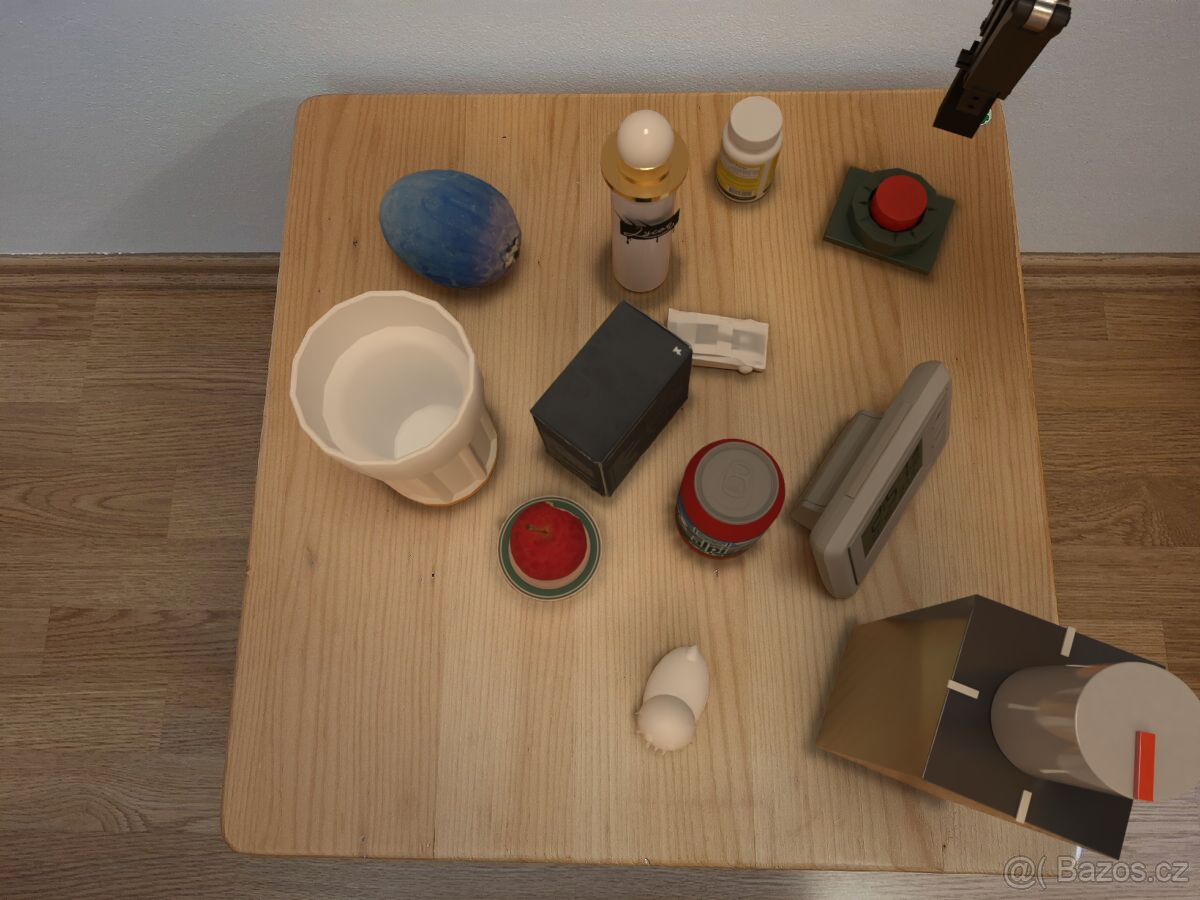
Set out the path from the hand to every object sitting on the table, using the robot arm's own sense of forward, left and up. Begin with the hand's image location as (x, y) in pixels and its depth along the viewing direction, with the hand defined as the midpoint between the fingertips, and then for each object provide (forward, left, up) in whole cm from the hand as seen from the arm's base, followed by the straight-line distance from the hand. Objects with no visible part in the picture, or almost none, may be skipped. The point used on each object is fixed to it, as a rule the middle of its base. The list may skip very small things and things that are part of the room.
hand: (955, 123), depth 59 cm
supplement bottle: (+13, 0, -15) cm, 20 cm away
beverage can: (+5, +28, -15) cm, 32 cm away
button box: (+1, -1, -15) cm, 15 cm away
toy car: (+10, +15, -15) cm, 23 cm away
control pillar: (-11, +36, -15) cm, 41 cm away
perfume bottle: (+18, +11, -15) cm, 26 cm away
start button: (+1, -1, -13) cm, 13 cm away
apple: (+16, +35, -15) cm, 41 cm away
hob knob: (-11, +36, +9) cm, 39 cm away
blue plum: (+31, +15, -15) cm, 38 cm away
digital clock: (-5, +22, -15) cm, 27 cm away
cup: (+27, +31, -15) cm, 44 cm away
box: (+15, +24, -15) cm, 32 cm away
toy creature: (+4, +41, -15) cm, 44 cm away
